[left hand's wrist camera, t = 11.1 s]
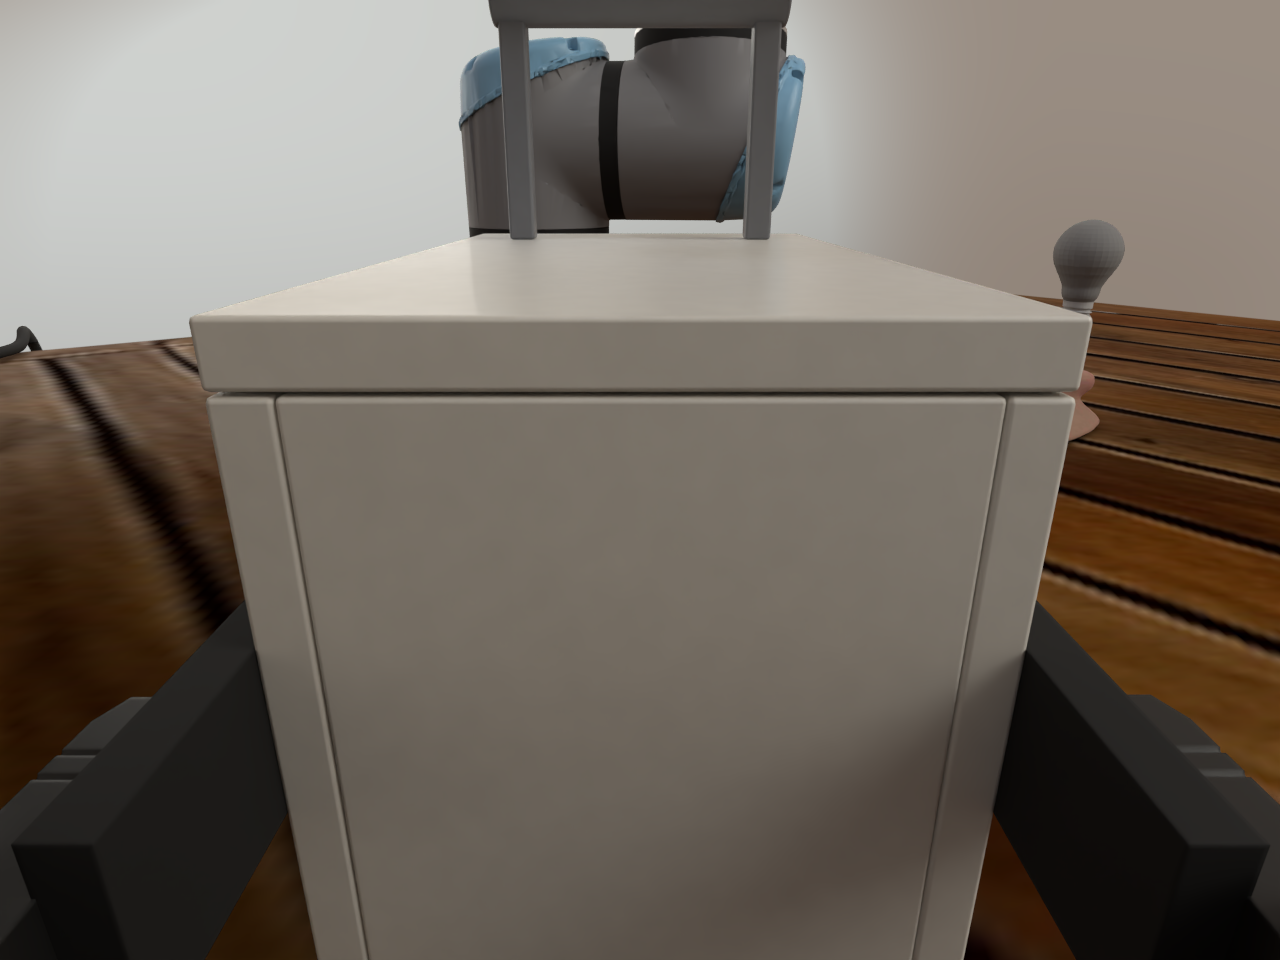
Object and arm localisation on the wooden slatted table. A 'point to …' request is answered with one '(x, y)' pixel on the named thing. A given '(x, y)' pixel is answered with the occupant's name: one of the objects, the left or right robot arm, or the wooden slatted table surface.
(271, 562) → the chest
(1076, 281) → the light bulb
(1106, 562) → the wooden slatted table surface
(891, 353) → the lid
